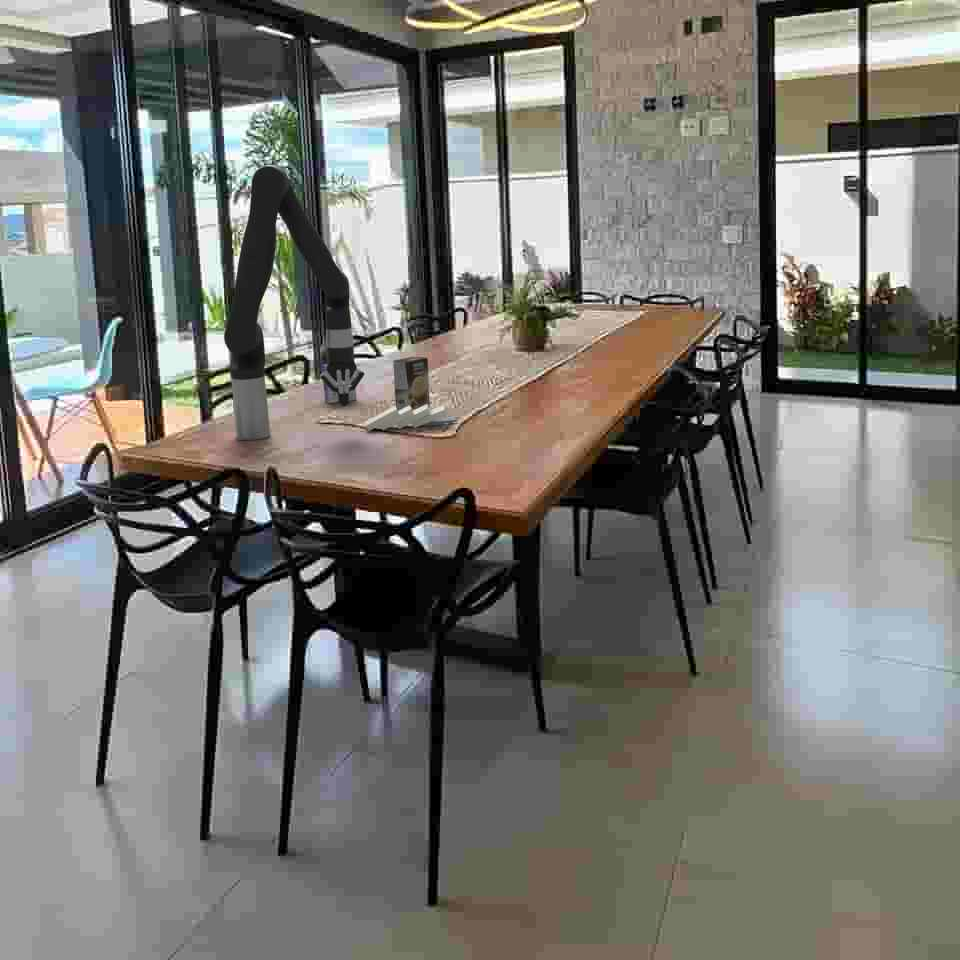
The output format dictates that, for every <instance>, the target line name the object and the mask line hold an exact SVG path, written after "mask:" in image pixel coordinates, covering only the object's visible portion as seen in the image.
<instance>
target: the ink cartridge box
mask: <svg viewBox="0 0 960 960" xmlns="http://www.w3.org/2000/svg"><path fill="white" fill-rule="evenodd" d="M327 364H328V363H327ZM327 364H321V374H323V373H324V372H325V371H326V367H327ZM328 376H329V379H328V380H329V381H330V382H331V383H332V385H333V386H334V387H337V386H336V382H335V380H334V379H333V378H332V377H331V376H330V374H328ZM354 378H355V372H354V374H353V376H352V377H351V379H350V380H349V385H350V384H351V382H352V381H353V379H354ZM322 384H323V393H324V394H323V395H324V401H325V403H328V404H333V403H338V393H337V392H333V391H332V390H331V389H330V388H329V387H328V386H327V385H326V384H325V383H324V381H323V380H322ZM342 388H343V381H342ZM356 400H357V387H356V388H355V389H354V390H352V391H350V392H349V402H350V401H356Z"/></svg>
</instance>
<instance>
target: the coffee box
mask: <svg viewBox="0 0 960 960" xmlns="http://www.w3.org/2000/svg"><path fill="white" fill-rule="evenodd" d="M392 361H393V362H392V363H393V380H394V381H393V382H394V383H393V385H394V403H395V407H396V409H397V410H398V411H399V410H401V409H403V408H405V407H407V406H409V405H410V407H411V409H412V411H413V410H415V409H417V408H420V407H422V406H424V405H426V404H428V406H429V408H430V409H431V403H430V402H431V400H430V399H431V398H430V384H429V382H430V380H429V379H430V378H429V360H428V357H424V356H409V357H404V358H399V359H394V360H392Z"/></svg>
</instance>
